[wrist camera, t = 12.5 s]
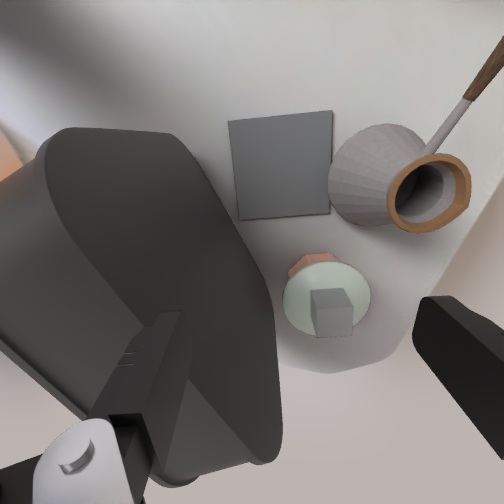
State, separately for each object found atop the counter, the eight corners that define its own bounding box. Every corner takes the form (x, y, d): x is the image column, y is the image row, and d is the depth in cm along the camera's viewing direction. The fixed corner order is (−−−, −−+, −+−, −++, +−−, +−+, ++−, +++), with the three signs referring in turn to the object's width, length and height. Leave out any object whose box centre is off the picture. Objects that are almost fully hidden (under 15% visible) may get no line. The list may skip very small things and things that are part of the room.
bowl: (289, 302, 40) (293, 326, 35) (287, 254, 37) (291, 272, 32) (343, 299, 40) (356, 323, 35) (346, 249, 37) (360, 267, 31)
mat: (239, 219, 35) (239, 220, 35) (228, 121, 30) (227, 121, 30) (328, 211, 34) (329, 212, 34) (331, 110, 30) (332, 110, 29)
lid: (280, 264, 32) (283, 284, 27) (371, 257, 31) (390, 276, 26) (284, 334, 36) (287, 361, 32) (364, 329, 35) (379, 356, 31)
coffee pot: (388, 228, 35) (472, 285, 21) (309, 207, 34) (342, 252, 21) (483, 40, 27) (720, -65, 13) (380, 5, 26) (519, -147, 12)
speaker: (272, 291, 40) (289, 497, 17) (223, 311, 42) (180, 523, 19) (182, 133, 31) (-32, 118, 8) (126, 168, 33) (-178, 233, 10)
